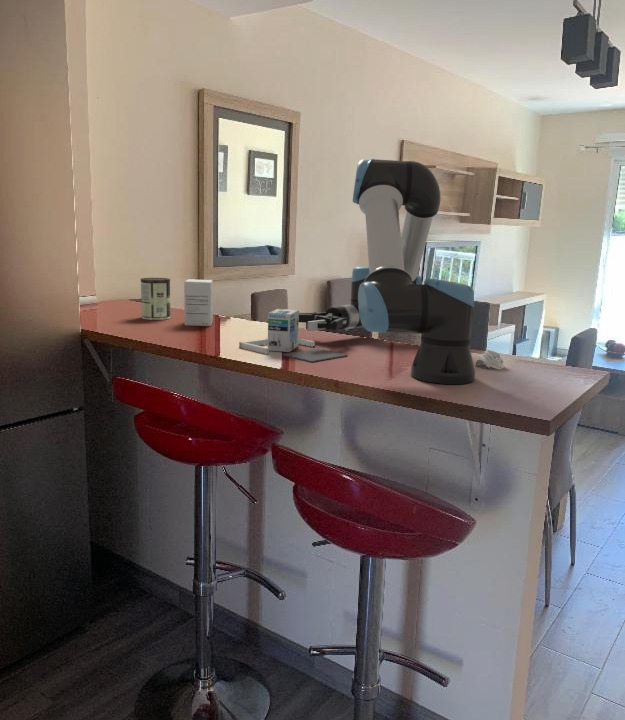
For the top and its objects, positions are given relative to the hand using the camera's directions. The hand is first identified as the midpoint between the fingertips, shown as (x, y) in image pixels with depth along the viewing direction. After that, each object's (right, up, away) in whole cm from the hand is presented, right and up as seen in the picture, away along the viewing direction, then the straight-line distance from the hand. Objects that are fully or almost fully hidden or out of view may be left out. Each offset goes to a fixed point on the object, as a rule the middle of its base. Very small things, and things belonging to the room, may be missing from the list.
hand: (291, 323), depth 185 cm
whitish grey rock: (+53, -13, -15) cm, 57 cm away
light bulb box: (-2, -8, -1) cm, 8 cm away
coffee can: (-50, +4, +45) cm, 68 cm away
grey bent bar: (-4, -7, 0) cm, 8 cm away
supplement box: (-33, +2, +36) cm, 49 cm away
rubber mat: (+7, -10, -10) cm, 16 cm away
